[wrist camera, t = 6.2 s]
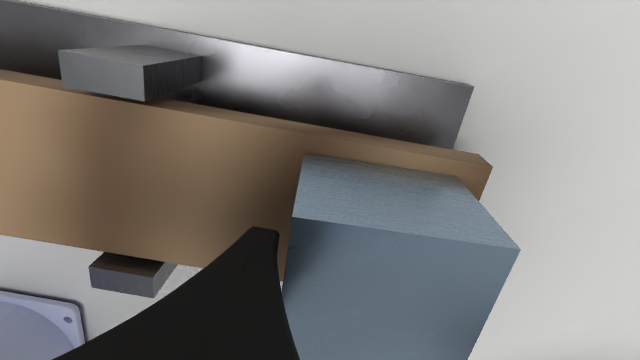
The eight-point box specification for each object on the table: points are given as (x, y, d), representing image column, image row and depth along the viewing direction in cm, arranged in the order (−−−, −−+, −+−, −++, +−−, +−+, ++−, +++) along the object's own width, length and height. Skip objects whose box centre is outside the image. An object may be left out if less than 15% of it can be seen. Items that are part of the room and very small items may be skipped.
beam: (478, 154, 12) (546, 213, 8) (427, 285, 14) (461, 378, 10) (-220, 30, 11) (-509, 29, 7) (-148, 189, 14) (-337, 251, 10)
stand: (468, 84, 14) (531, 110, 9) (403, 275, 18) (424, 358, 13) (-116, -24, 14) (-350, -52, 9) (-47, 195, 18) (-184, 252, 13)
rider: (415, 292, 13) (449, 396, 9) (286, 275, 13) (270, 374, 9) (456, 176, 11) (520, 249, 7) (304, 153, 11) (291, 216, 7)
